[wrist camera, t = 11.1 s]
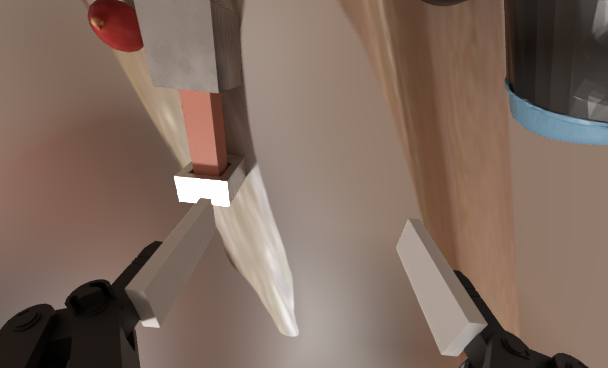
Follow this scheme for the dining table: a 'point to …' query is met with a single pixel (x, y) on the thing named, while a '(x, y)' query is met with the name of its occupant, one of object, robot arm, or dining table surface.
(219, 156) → the pink square post
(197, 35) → the plate
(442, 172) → the dining table surface
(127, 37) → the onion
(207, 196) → the socket
